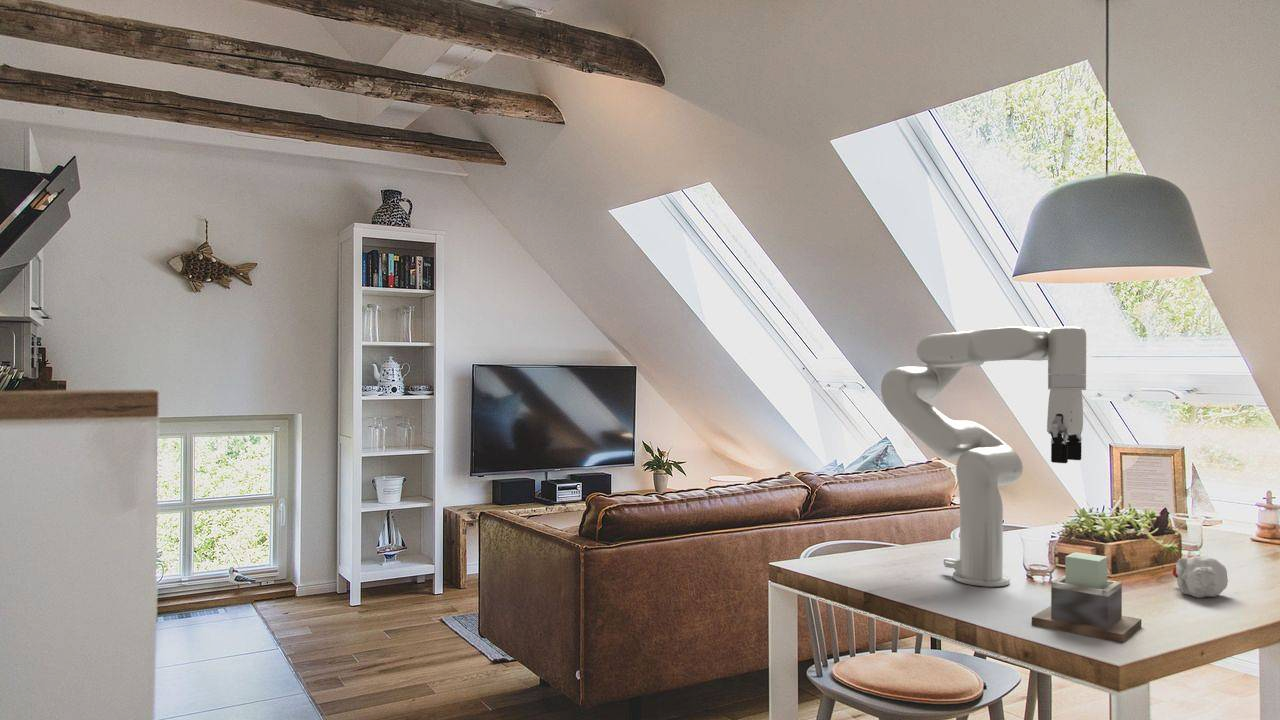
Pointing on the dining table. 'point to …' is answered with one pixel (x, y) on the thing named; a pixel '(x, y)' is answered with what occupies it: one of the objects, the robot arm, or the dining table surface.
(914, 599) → the dining table surface
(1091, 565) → the sage block
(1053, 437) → the robot arm
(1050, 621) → the pillar base
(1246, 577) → the dining table surface
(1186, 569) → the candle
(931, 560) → the dining table surface
